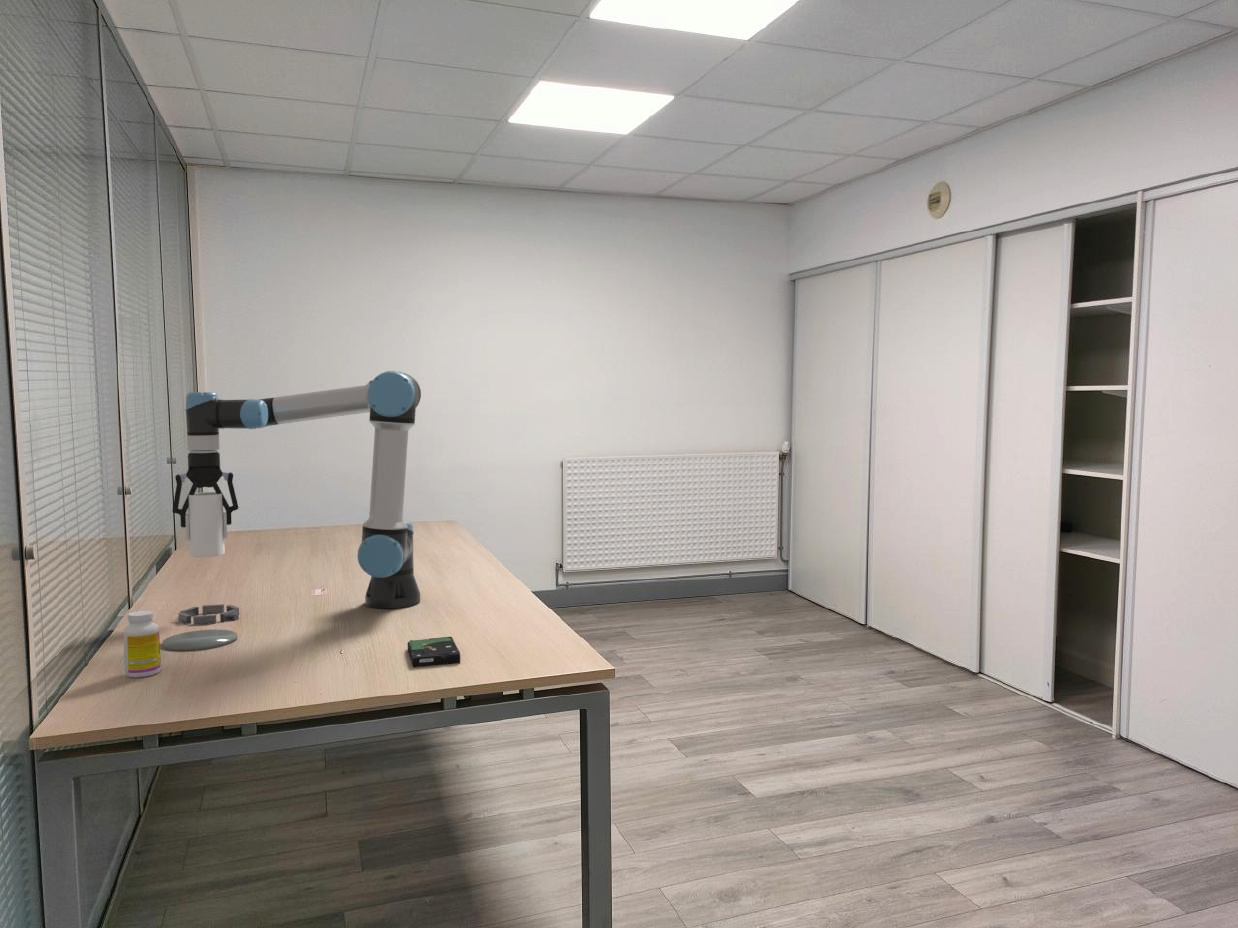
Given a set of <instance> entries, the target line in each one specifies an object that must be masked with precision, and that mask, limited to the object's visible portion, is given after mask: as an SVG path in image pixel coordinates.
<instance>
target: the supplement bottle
mask: <svg viewBox="0 0 1238 928" xmlns="http://www.w3.org/2000/svg"><path fill="white" fill-rule="evenodd" d="M127 620H128V622H129V623H128V624H129V625H127V626H125V628H123V632H122V637H123V659H124V663H123V664H124V675H125V676H126V677H128V678H132V679H133V678H136V679H138V678H145V677H151V676H153V675H156V674H159V672H160V671H161V669H162V667H161V666H162V665H161V664H162V661H161V641H160V639H161V638H160V627H159V625H158V624H157V623H155V622H153V620H154V611H152V610H139V611H132V612H129V613H128V614H127Z"/></svg>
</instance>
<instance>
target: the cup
mask: <svg viewBox="0 0 1238 928" xmlns="http://www.w3.org/2000/svg"><path fill="white" fill-rule="evenodd" d="M222 494H223V492H222V493H221V494H217V493H216V492H215V491H213V492H212V491H207V492H206V491H205V492H195V494H194V495H189V507H188V509H187V511H188V513H187V514H189V536H190V540H189V556H190V557H192V558H209V557H219V556H222V555H225V554H226V553H225V549H226V548H225V538H224V520H223V512H224V506H223V504H222Z"/></svg>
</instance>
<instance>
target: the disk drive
mask: <svg viewBox="0 0 1238 928" xmlns="http://www.w3.org/2000/svg"><path fill="white" fill-rule="evenodd" d="M407 653H408V655H409V659H410V661H411V666H412V668H423V667H432V666H433V667H435V666H445V665H454V664H461V651H460V650H459V648H458V646H457V644H456V643H455V640H454V638H453V636H442V637H436V638H435V637H431V638H430V637H429V638H423V639H415V640H413V639H410V640H409V641H408V642H407Z"/></svg>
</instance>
